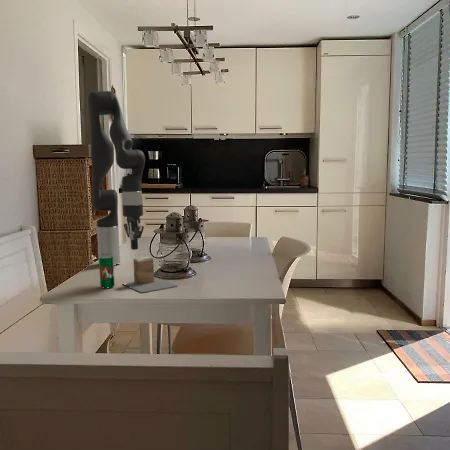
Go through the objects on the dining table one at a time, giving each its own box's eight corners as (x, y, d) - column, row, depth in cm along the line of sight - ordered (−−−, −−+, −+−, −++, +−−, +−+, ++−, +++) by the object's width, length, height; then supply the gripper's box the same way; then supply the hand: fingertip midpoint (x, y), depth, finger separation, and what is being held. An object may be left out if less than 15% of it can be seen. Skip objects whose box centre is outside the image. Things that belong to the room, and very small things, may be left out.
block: (134, 282, 177) (133, 258, 176) (149, 280, 181) (148, 256, 179) (139, 284, 174) (138, 260, 173) (154, 282, 177) (153, 258, 176)
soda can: (108, 284, 176) (107, 252, 175) (117, 286, 173) (116, 254, 172) (97, 287, 172) (95, 254, 171) (106, 289, 169) (104, 256, 168)
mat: (122, 284, 176) (122, 283, 176) (156, 278, 184) (156, 277, 184) (141, 293, 163) (141, 292, 163) (177, 286, 172) (177, 285, 172)
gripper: (115, 203, 182) (118, 248, 184) (130, 205, 172) (133, 252, 174) (134, 202, 187) (136, 246, 189) (149, 203, 176) (151, 250, 178)
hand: (134, 249), depth 181 cm, fingers closed
